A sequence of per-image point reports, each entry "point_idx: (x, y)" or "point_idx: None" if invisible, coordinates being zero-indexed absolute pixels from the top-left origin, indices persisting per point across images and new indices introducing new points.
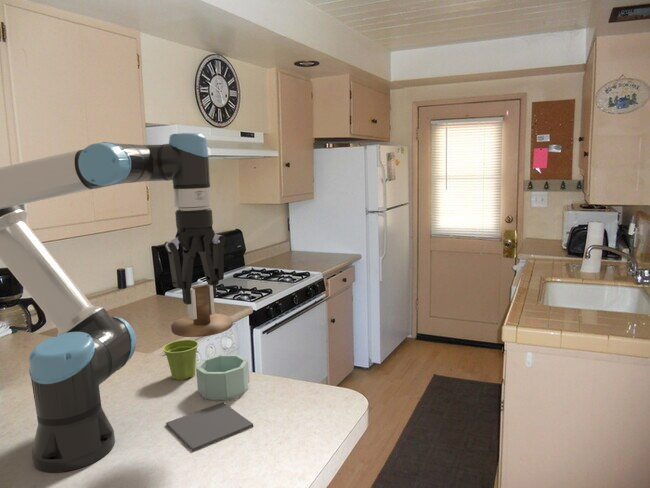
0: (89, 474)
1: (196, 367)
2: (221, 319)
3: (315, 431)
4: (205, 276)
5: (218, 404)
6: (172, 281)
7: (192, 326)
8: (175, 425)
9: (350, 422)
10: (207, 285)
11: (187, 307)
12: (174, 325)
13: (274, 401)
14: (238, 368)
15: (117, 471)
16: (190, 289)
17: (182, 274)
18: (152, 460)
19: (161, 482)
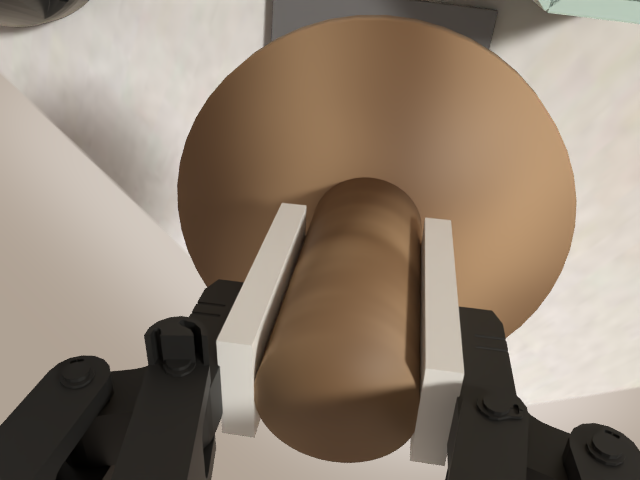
0: (32, 66)
1: None
2: (484, 274)
3: (528, 345)
4: (455, 443)
5: (474, 14)
6: (27, 402)
7: None
8: (287, 30)
9: (617, 384)
10: (416, 427)
11: (264, 243)
12: (210, 138)
13: (618, 144)
14: (629, 14)
15: (91, 110)
16: (221, 417)
17: (118, 478)
18: (172, 135)
19: (160, 227)
